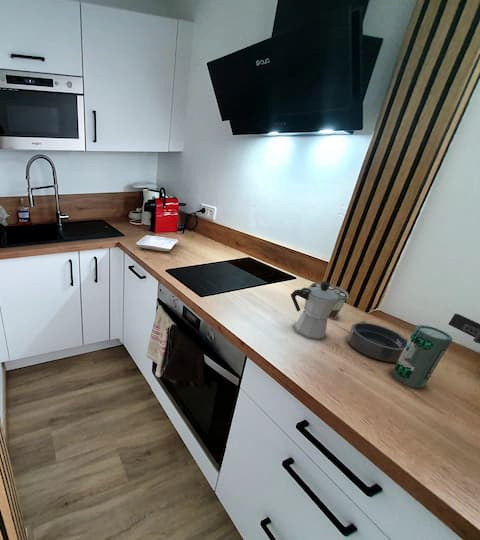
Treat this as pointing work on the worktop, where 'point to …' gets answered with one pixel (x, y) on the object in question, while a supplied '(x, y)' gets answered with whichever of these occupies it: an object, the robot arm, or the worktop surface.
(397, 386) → the worktop surface
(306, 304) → the coffee maker
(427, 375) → the can
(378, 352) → the basin
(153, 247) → the plate
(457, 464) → the worktop surface
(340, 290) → the food container
